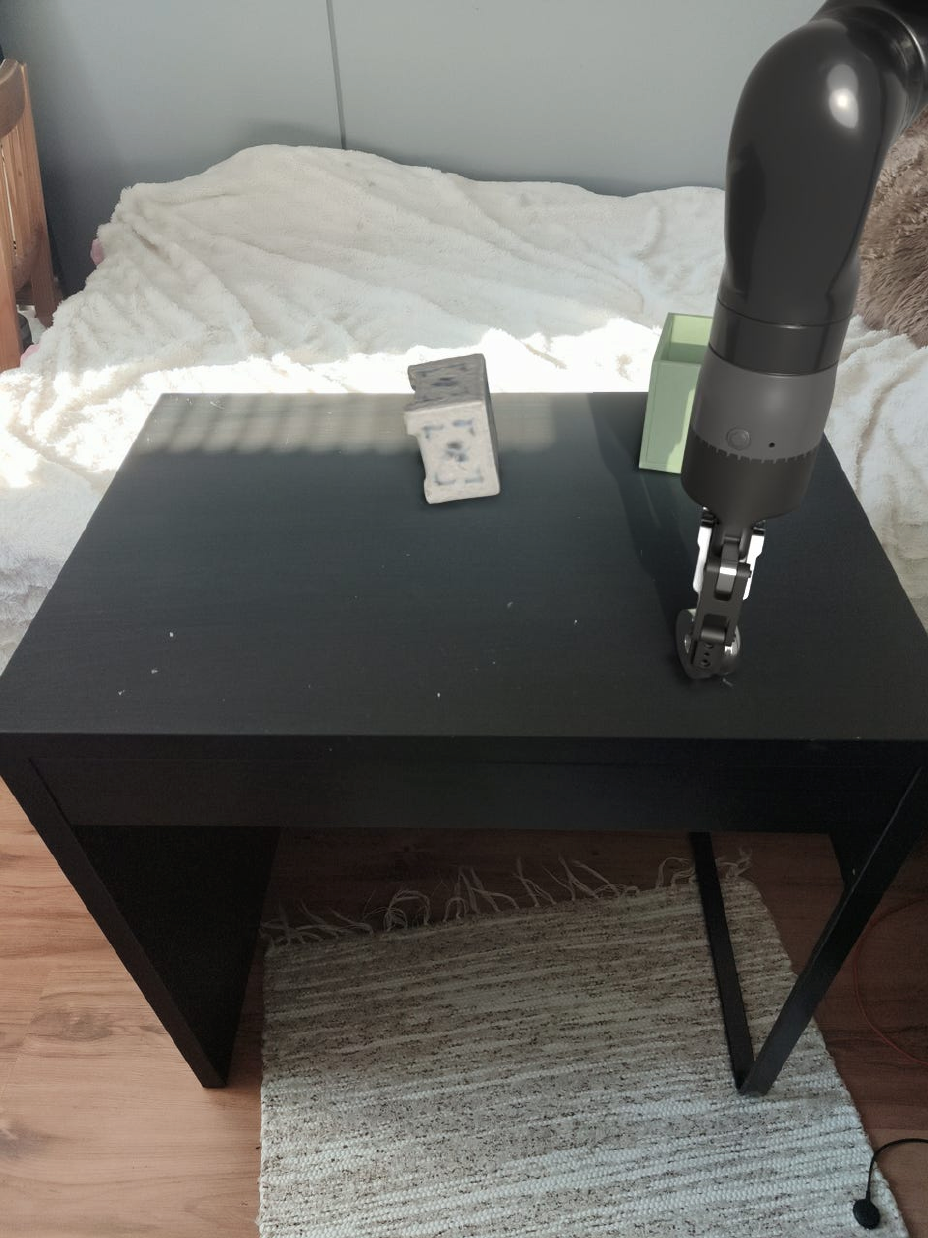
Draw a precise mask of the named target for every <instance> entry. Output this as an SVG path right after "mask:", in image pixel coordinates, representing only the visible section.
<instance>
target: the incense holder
mask: <svg viewBox="0 0 928 1238" xmlns="http://www.w3.org/2000/svg"><path fill="white" fill-rule="evenodd" d="M406 372H407V376H408V381H409V384H410V385H409V386H410V388H411V390H413V391H414V398H413V401H412V402H411V403H407V404H404V405H403V408H402V418H403V423H404V424H403V425H404V428H405V432H406V435H409V436H414V437H415V438H416V440H417V443H418V447H419V451H420V454H421V459H422V462H423V466H424V467H423V468H424V471H425V479H424V480H423V489H424V490H423V491H424V496H425V499H426V502H428V504H430V505H432V504H439V503H444V502H445V503H446V502H450V501H456V500H464V499H474V498H483V497H490V496H497V495H498V494H499V493H500V492H501V479H500V468H499V466H500V465H499V441H498V432H497V427H496V422H495V421H496V420H495V414H494V409H493V405H492V404H493V403H492V396H491V391H490V385H489V383H490V382H489V377H488V369H487V361H486V358H485V355H484V353H481V352H480V353H477V352H475V353H471V354H466V355H459V356H454V357H447V358H441V359H438V360H430V361H426V362H422V363H417V364H410V365H408V366H407V371H406Z"/></svg>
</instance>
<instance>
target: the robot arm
mask: <svg viewBox="0 0 928 1238" xmlns="http://www.w3.org/2000/svg"><path fill="white" fill-rule="evenodd" d="M927 107H928V0H825V1H824V3H823V4H821V6H820V7H819V8H818V9H817V11H815V13H814V14H813V15H812V17H811V18H810V19H809V20H808V21H807V22H806V23H805V24H803V25H801V26H799V27H798V28H796V29H794V30H791V32H788V33H787V34H786V35H784V36H783V37H781V38H780V39H778V40H777V41H775V43H773V44H772V45H770V47H769V48H768V49H767V50H766V51H765V52H764V53H763V54H762V55H761V57H760V58H759V60H758V61H757V62H756V64H755V65H754V66H753V67H752V69H751V71H750V73H749V74H748V76H747V78H746V80H745V83H744V84H743V88H742V90H741V91H740V96H739V98H738V101H737V104H736V107H735V112H734V115H733V120H732V124H731V129H730V134H729V139H728V146H727V154H726V162H725V163H726V164H725V176H724V177H725V179H724V212H723V213H724V217H723V218H724V219H723V241H724V243H723V244H724V263H723V267H722V271H721V275H720V279H719V282H718V286H717V293H716V298H715V303H714V308H713V314H712V317H713V319H712V325H711V330H710V336H709V341H708V346H707V349H706V353H705V356H704V359H703V361H702V364H701V367H700V371H699V374H698V379H697V383H696V388H695V394H694V399H693V405H692V411H691V416H690V422H689V427H688V433H687V439H686V444H685V450H684V455H683V461H682V467H681V473H679V479H680V484H681V486H682V488H683V490H684V492H685V493H686V495H687V496H688V497H689V498H690V500H692V501H693V502H694V503H696V504H697V505H698V506H700V507H701V508H702V512H701V518H700V524H699V529H698V533H697V538H696V544H697V546H698V555H697V561H696V565H695V566H696V567H695V571H694V574H693V575H694V576H693V579H692V589H693V590H694V591H695V592H696V593H697V594H698V598H697V602H696V607H695V608H696V612H695V616H692V620H691V623H693V626H691V629H690V634H692V636H691V642H690V647H689V652H688V656H687V662H686V665H687V667H688V668H689V669H691V670H695V671H700V672H705V673H710V674H712V675H717V674H716V673H718V672H719V671H720V668H721V664H722V660H723V657H724V653H725V649H726V647H731V646H732V642H735V639H736V634H735V630H736V626H737V625H738V622H739V618H740V614H741V611H742V606H743V603H744V600H745V599H747V598H748V596H749V594H750V589H751V586H752V585H751V584H752V580H753V575H754V570H755V565H756V559H757V557H759V555H761V553H762V551H763V547H764V541H765V537H766V529H765V528H764V525H765V522H766V521H767V520H770V519H775V518H779V517H782V516H785V515H788V514H789V513H791V512H792V511H794V510H795V509H796V508H797V507H799V506H800V505H801V504H802V502H803V500H804V498H805V497H806V493H807V490H808V487H809V483H810V479H811V476H812V472H813V470H814V467H815V466H814V465H815V462H816V460H817V456H818V451H819V449H820V445H821V442H822V437H823V435H824V431H825V427H826V424H827V422H828V418H829V414H830V411H831V407H832V404H833V400H834V395H835V388H836V381H837V374H838V373H837V372H838V366H839V362H840V359H841V354H842V350H843V347H844V343H845V340H846V336H847V332H848V329H849V326H850V322H851V319H852V315H853V312H854V310H855V307H856V302H857V297H858V293H859V287H860V283H861V277H862V260H861V259H862V258H861V256H860V253H859V249H860V245H861V241H862V239H863V235H864V232H865V228H866V224H867V221H868V217H869V213H870V210H871V206H872V202H873V199H874V195H875V191H876V188H877V185H878V182H879V180H880V176H881V173H882V171H883V167H884V165H885V163H886V159H887V156H888V154H889V151H890V150H891V149H892V147H893V146H894V145H895V144H896V143H897V142H898V141H899V139H900V138H901V137H902V136H903V135H904V134H905V133H906V131H907V130H908V129H909V128H910V126H911V125H912V124H913V123H914V122H915V121H916V120H917V119H918V118H919V116H920V115H921V114H922V113H923V111H924V110H925V109H926V108H927Z"/></svg>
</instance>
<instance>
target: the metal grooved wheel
mask: <svg viewBox="0 0 928 1238" xmlns="http://www.w3.org/2000/svg"><path fill="white" fill-rule="evenodd" d="M695 612H696V607H691V608H684V609H682V610H680V612H679V613H678V615H677V617H676V624H675V642H676V648H677V654H678V658H679V660H680V663H681V667H682V668H683V670H684V672H685V674H686V675H687V676H688V677H689V678H690V679H693V680H700V679H706V678H711V676H712V675H713V674H710V673H705V672H700V671H695V670H691V669H689V668H688V667H687V665H686V662H687V656H688V652H689V647H690V642H691V636H692V634H690V629H691V626H693V623H691V620H692V616H695ZM735 634H736V639H735V642H732V646H731V647H726V649H725V653H724V657H723V660H722V664H721V668H720V671H719V672H718V673H716V674H715V675H718V676H726V675H730V674H732V673H733V672H734V671H736V669H737V668H738V666H739V663H740V661H741V656H742V639H741V633H740V629H739V625H738V624H737V626H736V630H735Z"/></svg>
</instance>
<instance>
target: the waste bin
mask: <svg viewBox="0 0 928 1238" xmlns="http://www.w3.org/2000/svg"><path fill="white" fill-rule="evenodd" d="M712 319H713V316H708V315H699V314H691V313H690V314H689V313H681V312H680V313H679V312H669V311H668V312H667V315H666V318H665V321H664V324H663V328H662V329H661V333H660V336H659V339H658V343H657V346H656V349H655V352H654V355H653V358H652V361H651V368H650V374H649V376H650V377H649V384H648V391H647V400H646V407H645V415H644V422H643V430H642V439H641V445H640V453H639V461H638V468H639V469H645V470H653V471H661V472H667V473H675V474H680V473H681V467H682V461H683V455H684V450H685V444H686V439H687V433H688V427H689V422H690V416H691V411H692V405H693V399H694V394H695V388H696V383H697V379H698V374H699V371H700V367H701V364H702V361H703V359H704V356H705V353H706V349H707V346H708V341H709V336H710V330H711V325H712Z"/></svg>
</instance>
